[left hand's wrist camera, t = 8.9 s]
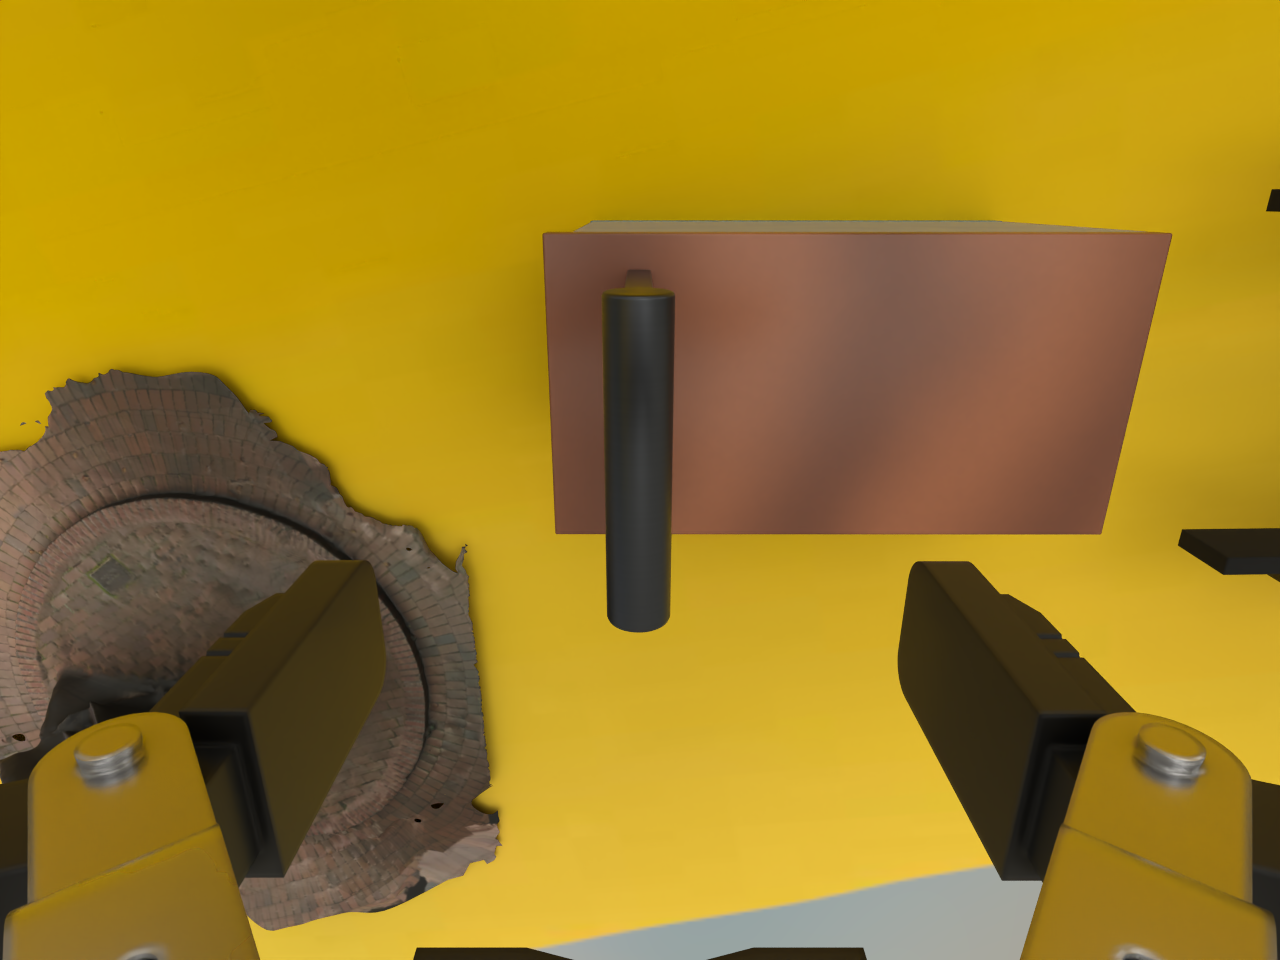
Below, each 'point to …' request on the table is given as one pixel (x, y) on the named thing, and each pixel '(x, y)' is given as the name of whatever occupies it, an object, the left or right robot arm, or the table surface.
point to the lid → (836, 386)
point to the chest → (829, 226)
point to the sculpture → (232, 620)
